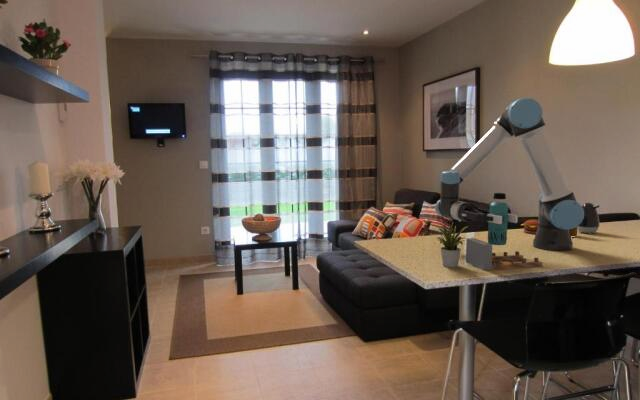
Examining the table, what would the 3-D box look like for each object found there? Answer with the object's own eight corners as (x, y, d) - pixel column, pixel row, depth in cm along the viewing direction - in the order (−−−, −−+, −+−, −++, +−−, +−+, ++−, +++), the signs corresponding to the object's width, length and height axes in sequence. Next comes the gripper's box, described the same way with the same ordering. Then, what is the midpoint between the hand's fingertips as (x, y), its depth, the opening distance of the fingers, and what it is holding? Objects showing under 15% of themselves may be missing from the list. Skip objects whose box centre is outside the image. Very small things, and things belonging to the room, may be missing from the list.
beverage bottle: (484, 245, 165) (486, 192, 162) (501, 245, 165) (503, 192, 163) (492, 249, 158) (494, 193, 156) (510, 249, 159) (513, 193, 157)
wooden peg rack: (520, 258, 171) (521, 250, 170) (542, 266, 159) (542, 258, 159) (473, 261, 167) (473, 253, 167) (491, 269, 155) (491, 261, 155)
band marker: (491, 256, 168) (491, 254, 168) (511, 264, 156) (511, 262, 156) (484, 257, 168) (484, 255, 168) (503, 264, 156) (503, 263, 156)
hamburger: (548, 233, 222) (548, 220, 221) (532, 235, 219) (533, 221, 218) (534, 230, 231) (534, 218, 230) (518, 232, 228) (519, 219, 227)
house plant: (421, 267, 160) (421, 222, 158) (433, 259, 172) (433, 217, 170) (461, 272, 152) (462, 225, 151) (471, 263, 164) (472, 219, 162)
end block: (473, 261, 167) (473, 238, 166) (491, 269, 155) (492, 244, 154) (465, 262, 166) (466, 238, 165) (483, 270, 155) (484, 244, 154)
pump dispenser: (591, 235, 216) (593, 204, 214) (570, 232, 225) (572, 202, 223) (603, 233, 221) (605, 203, 219) (583, 230, 230) (584, 201, 228)
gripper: (483, 219, 181) (529, 228, 160) (444, 222, 174) (486, 232, 153) (484, 201, 180) (530, 207, 159) (445, 203, 173) (487, 210, 152)
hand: (508, 219), depth 156 cm, fingers closed on beverage bottle, 6 cm apart
